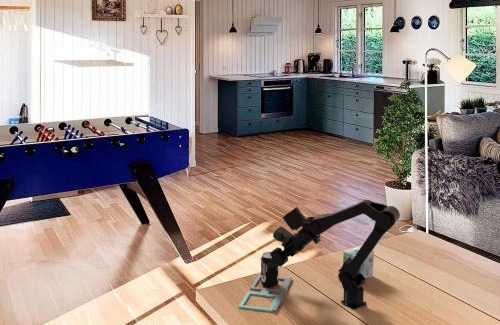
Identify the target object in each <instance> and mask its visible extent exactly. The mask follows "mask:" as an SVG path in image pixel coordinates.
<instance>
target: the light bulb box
mask: <svg viewBox="0 0 500 325" xmlns="http://www.w3.org/2000/svg"><path fill="white" fill-rule="evenodd" d="M361 247H362V245H360V246H357V247H354V248H351V249H347V250H344V251H343V260H342V261H343V262H342V264H343V263H344V262H345V261H346V260H347V259H348V258H349V257H350V258H351V259H353V258H354V257H355V255H356V254H357V252H358V251H359V249H360V248H361ZM374 256H375V250H374V249H373V250H372V252H371V253H370V255H369V256H368V258H367V259H366V260H365V262H364V264H363V267H362V270H361V272H360V273H361V274H362V275H363V276H364V277H365V278H366V279H368V278H372V277H373V275H374V258H375V257H374Z"/></svg>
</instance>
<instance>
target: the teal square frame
mask: <svg viewBox="0 0 500 325" xmlns="http://www.w3.org/2000/svg"><path fill="white" fill-rule="evenodd" d="M250 296H258V297H266V298H272V299H273V298H274V299H273V302H272V303H271V305H270V307H269V308H267V307H260V306H251V305H245V304H246V302H247V300H248V299H249V297H250ZM279 296H280V294H271V293H269V294H265V293H260V292H257V291H247V292H246V294H245V295H244V297H243V298H242V300H241V301H240V303H239V304H238V306H237V307H238V309H244V310H250V311H260V312H269V313H274V312H273V308H274V306H275V304H276V302H277V300H278V298H279Z"/></svg>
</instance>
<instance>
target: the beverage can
mask: <svg viewBox="0 0 500 325" xmlns="http://www.w3.org/2000/svg"><path fill="white" fill-rule="evenodd" d="M270 252H271V251H267V252H263V253H262V254H261V257H260V275H261V278H260V285H262V286H263V288H268V289H272V288H276V287H277V286H278V284H279V280H278V277H279V266H277V267H270V268H268V267H267V264H268V262H269V261H270V260H271V258H272V257H271V255H270Z"/></svg>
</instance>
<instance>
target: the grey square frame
mask: <svg viewBox="0 0 500 325" xmlns="http://www.w3.org/2000/svg"><path fill="white" fill-rule="evenodd" d="M288 278H289V277H280V276H278V281H282V284H281V286H280V287H279V289H274V288H268V287H258V286H257V285H258V283H259V281H261V274H258V275H257V276H256V278H255V280H254V281H253V283H252V284H251V286H250V288H249V290H253V291H259V292H261V290H270V292H269V293H276V294H277V293H278V294H281V292H282V290H283V288H284V286H285V284H286V282H287V280H288Z"/></svg>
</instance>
